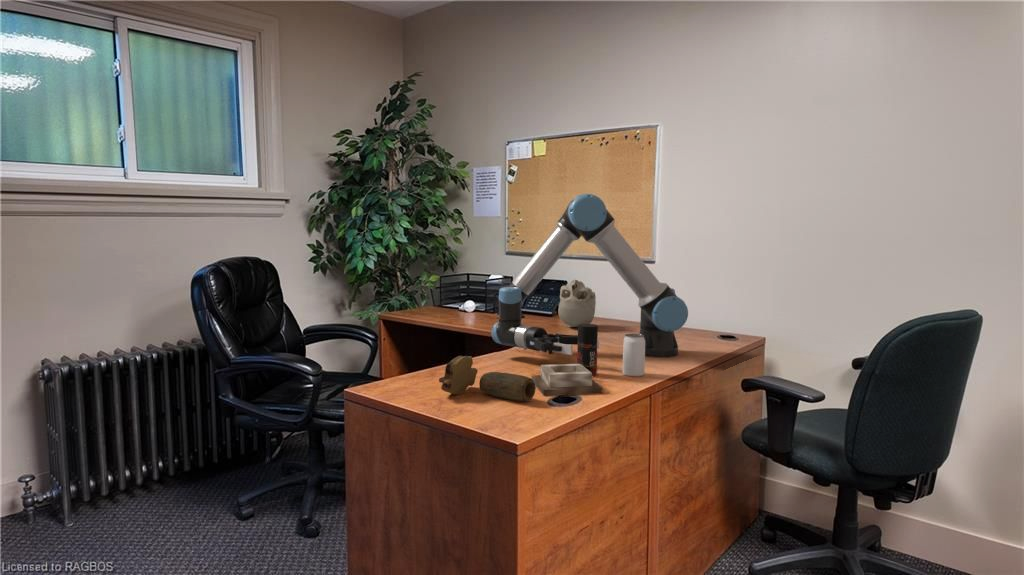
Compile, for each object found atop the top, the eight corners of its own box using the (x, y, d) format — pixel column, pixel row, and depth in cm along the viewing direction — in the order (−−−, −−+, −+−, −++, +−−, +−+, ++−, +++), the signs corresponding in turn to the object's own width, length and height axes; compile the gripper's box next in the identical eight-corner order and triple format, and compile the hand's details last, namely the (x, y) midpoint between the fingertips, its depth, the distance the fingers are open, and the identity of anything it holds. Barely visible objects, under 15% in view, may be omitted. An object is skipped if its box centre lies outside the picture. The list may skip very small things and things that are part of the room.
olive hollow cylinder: (538, 399, 156) (539, 374, 155) (524, 406, 150) (524, 379, 150) (491, 390, 164) (491, 366, 164) (475, 396, 159) (475, 371, 158)
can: (644, 377, 180) (645, 337, 179) (622, 376, 181) (623, 336, 180) (644, 372, 186) (645, 333, 185) (622, 371, 187) (623, 333, 186)
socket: (585, 378, 178) (585, 361, 177) (602, 393, 162) (602, 374, 162) (531, 380, 175) (531, 363, 175) (543, 395, 160) (543, 376, 159)
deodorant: (585, 371, 187) (586, 323, 186) (600, 374, 183) (601, 325, 182) (572, 374, 183) (573, 325, 182) (588, 377, 179) (589, 327, 178)
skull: (565, 324, 280) (566, 276, 278) (598, 326, 274) (599, 277, 272) (553, 330, 262) (553, 279, 259) (587, 332, 256) (588, 280, 254)
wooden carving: (463, 384, 170) (463, 349, 169) (478, 386, 169) (478, 350, 168) (435, 399, 155) (435, 361, 154) (451, 401, 153) (451, 362, 152)
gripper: (555, 344, 206) (608, 353, 192) (505, 355, 188) (559, 366, 174) (556, 322, 205) (609, 329, 191) (505, 331, 187) (559, 340, 173)
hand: (585, 347), depth 182 cm, fingers open, 13 cm apart
